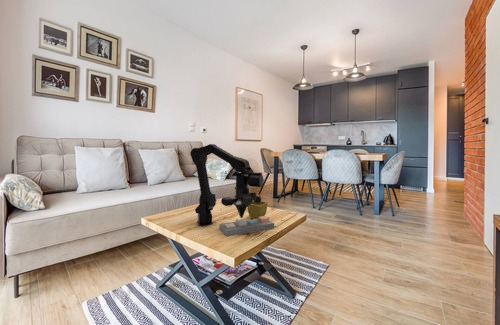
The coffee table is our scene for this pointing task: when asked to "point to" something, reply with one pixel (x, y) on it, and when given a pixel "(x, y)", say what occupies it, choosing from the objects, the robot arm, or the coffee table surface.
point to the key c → (252, 222)
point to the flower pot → (257, 209)
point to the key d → (263, 219)
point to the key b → (241, 222)
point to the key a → (229, 225)
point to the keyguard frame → (245, 228)
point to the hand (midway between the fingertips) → (241, 217)
